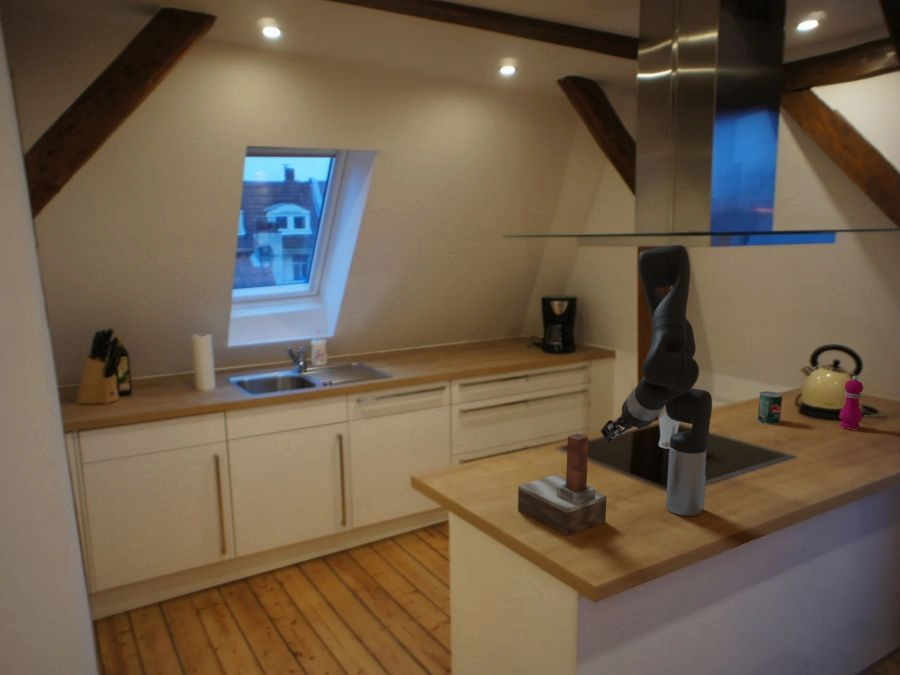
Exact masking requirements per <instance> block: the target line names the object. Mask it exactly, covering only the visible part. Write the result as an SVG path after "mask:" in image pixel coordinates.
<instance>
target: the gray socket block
mask: <svg viewBox="0 0 900 675" xmlns="http://www.w3.org/2000/svg"><path fill="white" fill-rule="evenodd" d="M517 489H518V491H517V492H518V494H517V496H518V497H517V511H518V512H520V513H522V514H524V515H526V516H527V517H529V518H531V519H534V520H535V521H537V522H538V523H541V524H543V525H544V526H546V527H548V528H551V529H552V530H554V531H556V532H558V533H560V534H562V535H564V536H565V537H567V536H570V535H573V534H576V533H579V532H582V531H584V530H587V529H589V528H592V527H595V526H598V525H600V524H603V523H606V521H607V520H606V517H607V514H606V513H607V495H605V494H603V493H602V492H599V491H596V490H597V489H596V488H594V487H592V486H589V485H587V486H586V490H583V491H580V492H574V491H572V490H570V489H567V488H566V477H563V476H562V475H559V474H554V475H551V476H547V477H543V478H540V479H536V480H532V481H530V482H527V483H526V482H525V483H523V484H520V485H518V488H517Z"/></svg>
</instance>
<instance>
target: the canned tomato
mask: <svg viewBox="0 0 900 675" xmlns="http://www.w3.org/2000/svg"><path fill="white" fill-rule="evenodd" d="M758 400H759V402H758V411H757V422H759V421H760V422H759V423H761V422H763V423H762V424H765V423H767V424H766V425H779V424H780V423H781V414H782V412H781V411H782V403H783V402H782V400H783V394H781V393H779V392H777V391H776V392H775V391H766V390H765V391H760V392H759V399H758ZM778 423H779V424H778Z"/></svg>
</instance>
